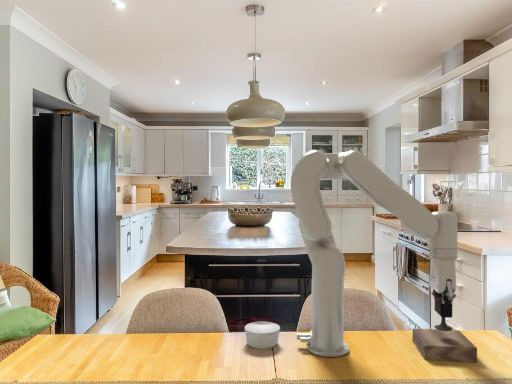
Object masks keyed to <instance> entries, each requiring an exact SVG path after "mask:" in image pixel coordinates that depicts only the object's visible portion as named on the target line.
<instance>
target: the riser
mask: <svg viewBox="0 0 512 384" xmlns="http://www.w3.org/2000/svg"><path fill="white" fill-rule="evenodd" d="M411 341H412V343H413V344H414V345H415V347H416V349H417V350H418V352H419V353H420V355H421V356H422V358H423V359H424V360H427V361H429V360H430V361H448V362H466V363H467V362H468V363H478V347H477V346H476V345H474V344H473V343H472V342H471V341H470V340H469V339H468V338H467V337H466V336H465V335H464V334H463V332H461V330H454V329H452V330H451V331H442V330H438V329H436V328H433V329H432V328H412V340H411Z"/></svg>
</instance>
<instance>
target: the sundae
mask: <svg viewBox="0 0 512 384" xmlns="http://www.w3.org/2000/svg"><path fill="white" fill-rule="evenodd" d="M443 293H447V291H444V292H443ZM431 295H432V296H433V299H434V309H435V308H436V311H435V312H436V313H437V314H438V316H440V303H442V302H441V298H442V297H441V293H440V294H439V293H437V292H436V291H435V289H432V292H431ZM445 296H447V295H444V298H445ZM456 297H457V294H456V293H454V297H453V299H454V298H456ZM446 318H447V317H441V316H440V319H441V321H440V323H439V324H436V325H434V326H433V328H434V329H435V330H442V331H451V330H453V327H451V326H450V325H448V324H447V321H446Z"/></svg>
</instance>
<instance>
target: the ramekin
mask: <svg viewBox="0 0 512 384" xmlns="http://www.w3.org/2000/svg"><path fill="white" fill-rule="evenodd" d="M244 332H245V333H244V334H245V339H246V344H247V345H248V346H249V347H250V348H254V349H259V350H266V349H268V350H269V349H271V348H274V347H276V346H277V344H278V342H279V337H280V332H281V326H280V325H279V324H277V323H274V322H270V321H255V322H250V323H247V324H246V325H245V326H244Z"/></svg>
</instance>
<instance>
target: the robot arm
mask: <svg viewBox="0 0 512 384" xmlns="http://www.w3.org/2000/svg"><path fill="white" fill-rule="evenodd" d="M321 180H348V181H349V182H350V183H351V184H353V186H355V188H357V189H358V190H359V191H360V192H361V193H363V195H365V196H366V197H367V199H368V200H370V201H371V202H372V203H373V204H375V205H376V206H378V207H380V208H382V209H384V210H386V211H388V213H390V214H392V215H393V216H394V217H396V218H397V219H398V220H400V226H401V229H402V230H403V231H404V232H405V233H407V234H408V235H411V236H414V237H416V238H420V239H424V240H425V239H429V258H430V264H429V266H430V267H429V282H428V283H429V287H430V288H431V289H432V290H434V289H435V291H436V292H437V293H439V294H440V293H441V297H442V298H441V302H442V303H440V315H439V316H440V318H441V317H446V318H453V304H454V298H453V297H454V294H456V289H457V288H456V287H457V276H456V275H457V274H456V273H457V271H456V270H457V269H456V260H458V215H457V214H456V213H455V212H452V211H443V210H442V211H438V210H437V211H432V212H431V210H430V209H428V208H427V207H426V206H425V205H424V204H423V203H422V202H420V201H419V200H418V199H417V198H416V197H414V196H413V195H412V194H411V193H409V192H408V191H407V190H405V189H404V188H402V186H400V184H398V183H396V182H394V180H393V179H391V178H390V177H389V176H388V175H387V174H386V173H385V172H384V171H382V169H380V168H379V167H378V166H377V165H376V164H375V163H374V162H373V161H372V160H371V159H369V158H368V157H367V155H365V154H364V153H362V152H361V151H359V150H354V149H353V150H348V151H345V152H324V151H322V150H318V149H312V150H310V151H307V152H306V153H305V154H303V155H302V157H300V159H299V160H298V162H297V163H296V164H295V166H294V168H293V171H292V173H291V176H290V192H291V196H292V200H293V201H292V202H293V203H294V206H295V211H296V214H297V217H298V227H299V231H300V233H301V238H302V240H303V242H304V246H305V249H306V252H307V255H308V258H309V260H310V263H311V329H310V332H307V333H298V332H297V333H296V340H297V341H300V343H306V350H307V351H308V352H310V353H311V354H313V355H316V356H319V357H326V358H328V357H329V358H336V357H337V358H338V357H342V356H344V355H346V354H348V353H349V352H350V347H349V345H348V343H346V342H345V340H344V339H345V338H344V336H345V335H344V330H345V329H344V328H345V327H344V325H345V324H344V323H345V318H344V316H345V314H344V313H345V312H344V310H345V308H344V307H345V305H344V304H345V303H344V301H345V296H344V295H345V294H344V292H345V287H344V286H345V275H346V260H345V256H344V253H343V252H342V250H341V249H340V248H339V247H338V246H337V245H336V241H335V239H334V236H333V232H332V226H333V225H332V221H331V218H330V216H329V214H328V212H327V209H326V206H325V203H324V200H323V197H322V196H323V195H322V193H321V187H320V183H321ZM444 291H447V293H443V292H444ZM444 295H447V296H445V298H444ZM434 311H435V312H436V308H435V307H434Z"/></svg>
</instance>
